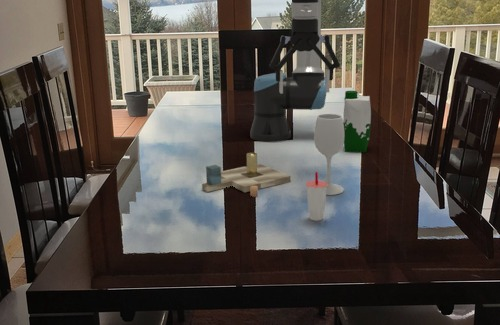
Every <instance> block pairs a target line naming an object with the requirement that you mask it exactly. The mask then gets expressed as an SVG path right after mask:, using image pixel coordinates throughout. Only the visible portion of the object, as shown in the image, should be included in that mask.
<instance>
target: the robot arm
mask: <svg viewBox="0 0 500 325" xmlns="http://www.w3.org/2000/svg"><path fill="white" fill-rule="evenodd" d="M291 17H292V20H291V33H290V34H291V35H290V36H286V35H281V36H280V40H279V45H278V47H277V49H276V50H275V53H274V55H273V57H272V59H271V61H270V63H269V66H268V67H269V68H270V69H271V70H274V71H275V72H273V73H269V74H263V75H260V76H257V77H256V78H255V79H254V82H253V83H254V84H253V85H254V86H253V92H254V93H253V96H254V102H253V104H254V119H253V121H252V125H251V128H250V131H249V133H250V134H249V136H250V139H252V140H254V141H258V142H269V143H270V142H271V143H274V142H282V141H283V142H284V141H286V140H288V139H290V138H291V137H292V134H291V132H292V131H291V128H290V124H289V121H288V118H287V110H304V111H305V110H310V111H312V110H321V109H323V108H324V106H326V97H327V93H330V81H333V80H334V70H335V69H336V68H339V67H340V66H341V65H340V62H339V60H338V57H337V55H336V54H335V53H336V52H334V49H333V47H332V44H331V43H330V36H329V35H328V34H325V33H324V35H322V0H291ZM289 41H290V43H291V44H292V46H291V47H290V49H289V50H288V51H287V52H286V54H285V55H284V56H283V57H282V58H281V60H280V61H279V62H278V60H279V58H280V56H281V54H282V52H283V51H284V50H283V49H284V48H285V45H287V44H288V42H289ZM321 43H322V44H323V45H324V46H325V49H326V50H327V52H328V54H329V56H330V59H331V61H332V63H331V61H330V60H329V59H328V58H327V57H326V55H325V54H324V53H323V51H321V46H322V45H321ZM295 52H296V66H295V68H294V70H293V71H292V72H291V77H288V76H287V75H286V73H285V72H284V70H283V69H282V68H283V67H284V66H286V64H287V62H288V61H289V60H290V59H291V57H292V56H293V55H294V54H295ZM321 61H322V62H323V63H324V64H325V65H326V66H327V68H325V71H324V70H323V69H322V68H321ZM277 62H278V63H277Z"/></svg>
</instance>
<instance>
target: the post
mask: <svg viewBox="0 0 500 325" xmlns="http://www.w3.org/2000/svg"><path fill="white" fill-rule="evenodd" d="M257 164H258V153H257V152H247V153H246V166H247V177H248V178H253V177H257Z"/></svg>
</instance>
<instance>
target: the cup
mask: <svg viewBox="0 0 500 325" xmlns="http://www.w3.org/2000/svg"><path fill="white" fill-rule="evenodd" d="M314 175H315V178H314V179H315V180H309V181H306V182H305V187H306V197H307V198H306V199H307V210H308V218H309V220H311V221H315V222H318V221H322V220H323V219H324V214H325V208H326V207H325V206H326V199H327V195H326V191H327V185H328V183H326V181H323V180H319V172H318V171H315V173H314Z"/></svg>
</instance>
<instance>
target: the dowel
mask: <svg viewBox="0 0 500 325" xmlns="http://www.w3.org/2000/svg"><path fill="white" fill-rule="evenodd" d="M258 191H259V189H258V186H250V191H249V192H250V196H249V197H251V196H252V197H251V198H257V197H258V196H259V195H258V194H259V193H258Z"/></svg>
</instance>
